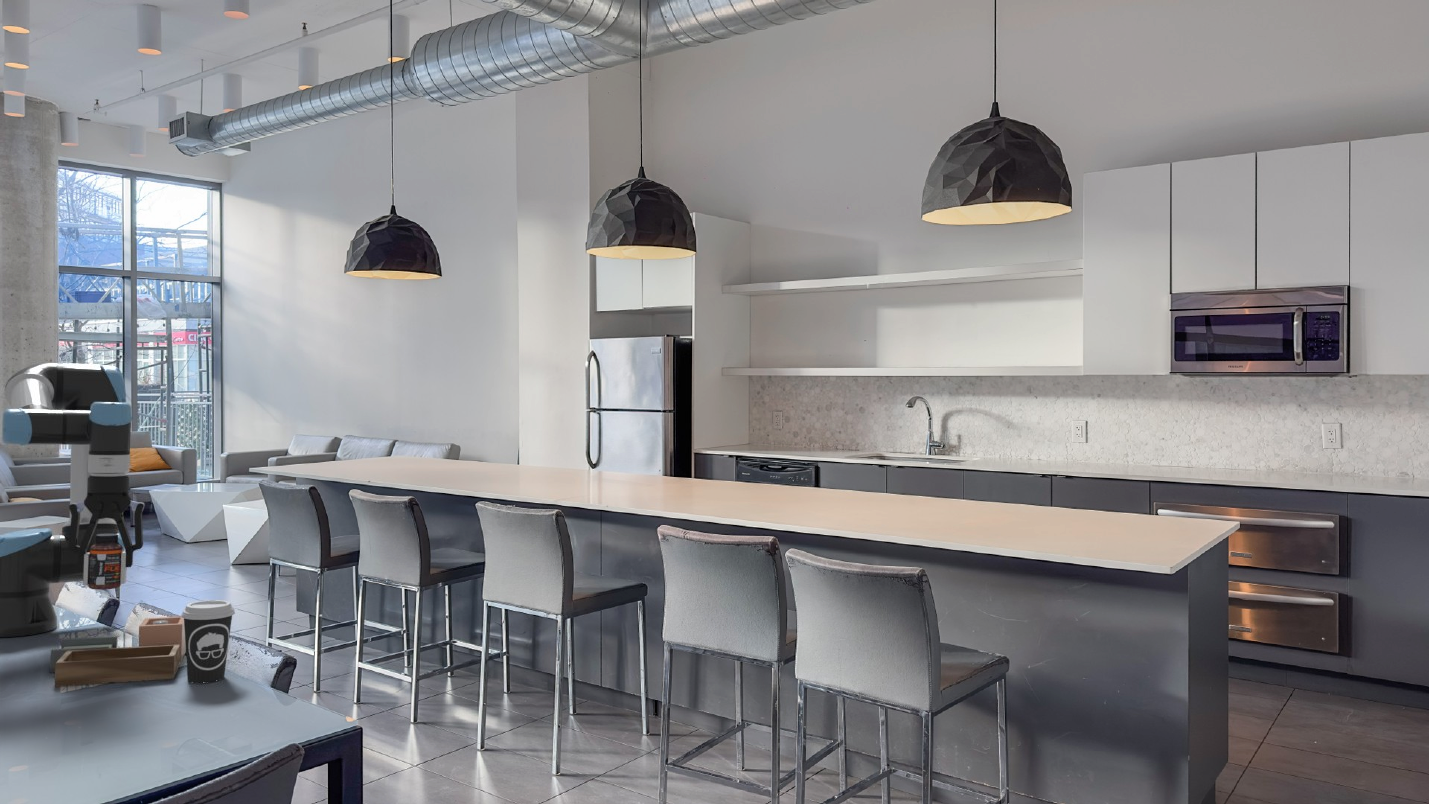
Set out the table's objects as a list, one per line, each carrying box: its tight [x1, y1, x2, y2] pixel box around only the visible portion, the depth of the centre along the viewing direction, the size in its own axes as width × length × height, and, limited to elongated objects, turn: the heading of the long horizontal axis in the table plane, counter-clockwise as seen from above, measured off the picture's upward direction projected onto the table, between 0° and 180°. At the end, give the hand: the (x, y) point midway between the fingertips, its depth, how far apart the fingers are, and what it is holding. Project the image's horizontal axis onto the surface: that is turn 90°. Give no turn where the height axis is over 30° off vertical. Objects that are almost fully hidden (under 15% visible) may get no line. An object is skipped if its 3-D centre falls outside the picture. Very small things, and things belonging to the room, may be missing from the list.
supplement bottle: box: [87, 534, 123, 591], centre depth 204 cm, size 6×6×11 cm
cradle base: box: [49, 635, 119, 674], centre depth 200 cm, size 10×10×4 cm
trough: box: [54, 644, 181, 688], centre depth 193 cm, size 10×20×4 cm, turn 113°
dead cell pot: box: [137, 616, 186, 663], centre depth 207 cm, size 8×8×8 cm
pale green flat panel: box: [63, 644, 112, 649], centre depth 200 cm, size 7×9×1 cm
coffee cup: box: [180, 599, 236, 684], centre depth 193 cm, size 10×10×15 cm
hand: (104, 583), depth 204 cm, fingers closed on supplement bottle, 6 cm apart
